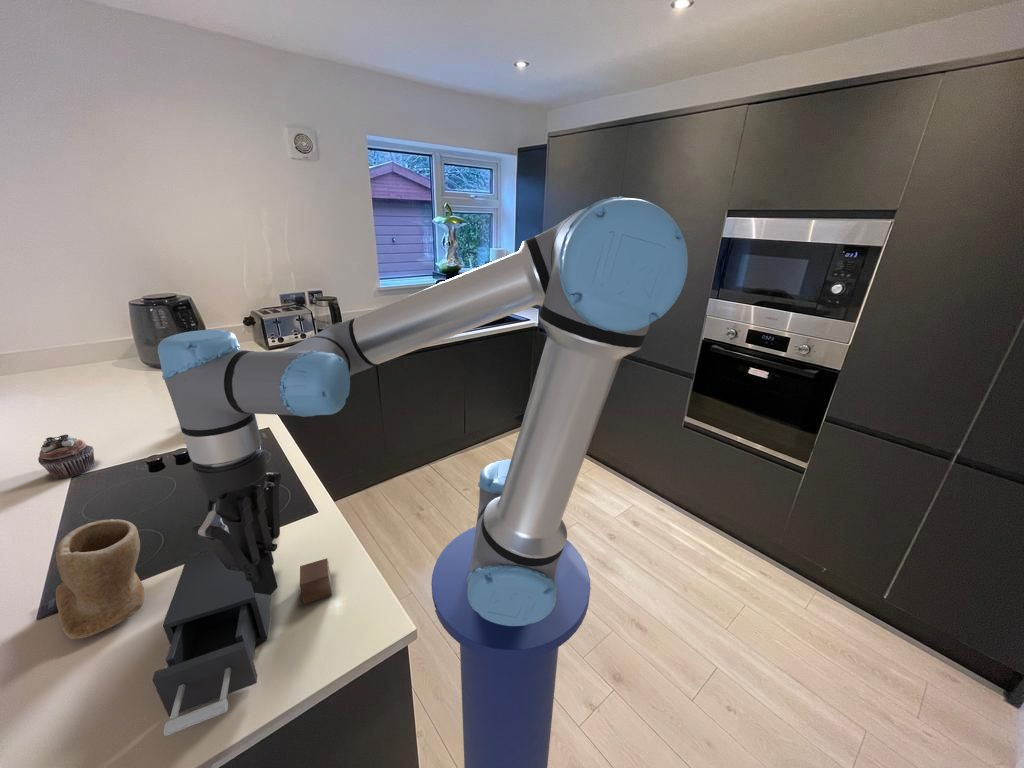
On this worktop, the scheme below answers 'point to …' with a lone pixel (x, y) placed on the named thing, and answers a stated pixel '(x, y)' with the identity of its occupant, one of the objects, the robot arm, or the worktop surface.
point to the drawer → (207, 665)
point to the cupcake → (66, 456)
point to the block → (315, 580)
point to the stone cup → (98, 577)
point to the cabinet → (213, 594)
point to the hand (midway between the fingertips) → (266, 589)
